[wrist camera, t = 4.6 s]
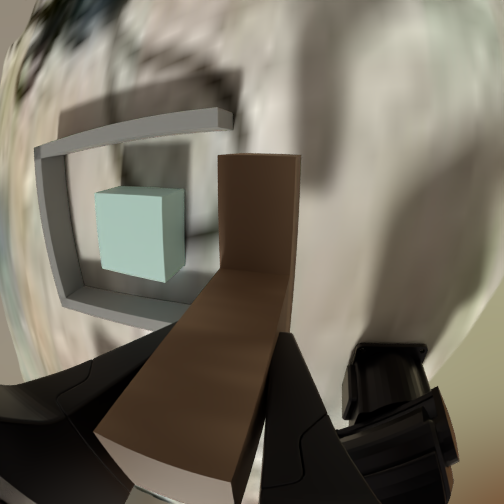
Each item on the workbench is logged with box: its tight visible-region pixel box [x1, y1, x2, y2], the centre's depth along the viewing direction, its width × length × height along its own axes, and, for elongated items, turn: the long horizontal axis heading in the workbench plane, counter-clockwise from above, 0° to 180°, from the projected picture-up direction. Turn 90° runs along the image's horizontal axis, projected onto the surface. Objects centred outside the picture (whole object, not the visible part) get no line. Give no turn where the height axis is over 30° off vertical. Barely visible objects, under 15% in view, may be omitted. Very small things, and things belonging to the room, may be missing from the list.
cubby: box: [34, 107, 233, 331], centre depth 21 cm, size 18×16×3 cm
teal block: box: [94, 186, 185, 283], centre depth 20 cm, size 6×6×4 cm
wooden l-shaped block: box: [93, 153, 301, 504], centre depth 8 cm, size 2×10×10 cm, turn 179°
